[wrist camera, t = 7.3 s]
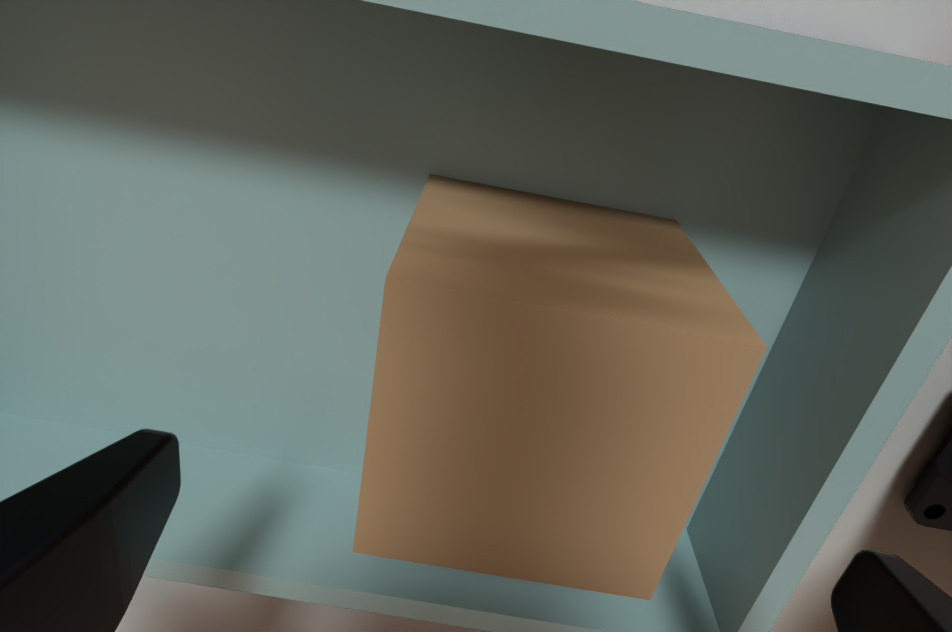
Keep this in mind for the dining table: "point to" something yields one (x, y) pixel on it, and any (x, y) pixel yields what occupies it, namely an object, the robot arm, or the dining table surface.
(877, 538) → the dining table surface
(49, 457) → the tray
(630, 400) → the cube
